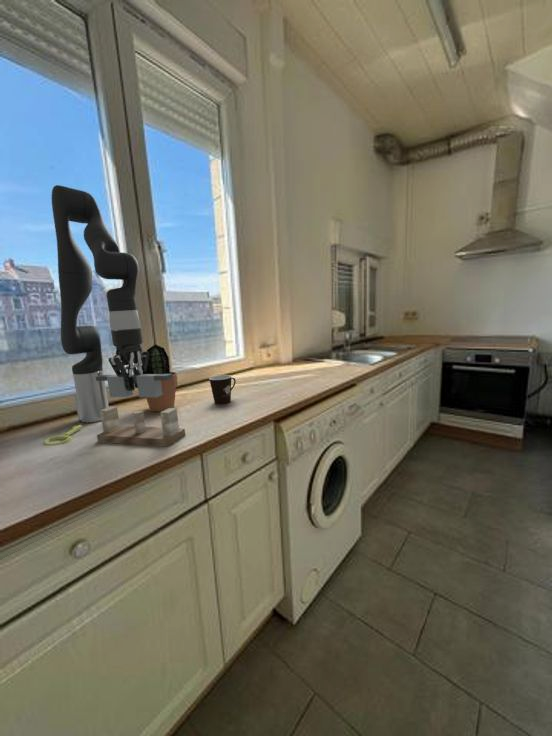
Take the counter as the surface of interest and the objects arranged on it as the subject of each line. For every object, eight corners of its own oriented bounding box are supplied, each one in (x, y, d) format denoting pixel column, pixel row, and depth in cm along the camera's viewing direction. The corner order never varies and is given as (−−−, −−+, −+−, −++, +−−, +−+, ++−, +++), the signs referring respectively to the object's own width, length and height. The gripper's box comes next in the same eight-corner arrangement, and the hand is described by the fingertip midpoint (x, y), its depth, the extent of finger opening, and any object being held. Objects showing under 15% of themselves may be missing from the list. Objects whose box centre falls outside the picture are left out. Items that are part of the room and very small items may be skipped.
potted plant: (180, 401, 130) (173, 341, 126) (181, 410, 118) (173, 343, 113) (144, 406, 126) (136, 344, 122) (141, 416, 113) (132, 347, 109)
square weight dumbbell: (99, 396, 92) (95, 376, 91) (106, 394, 94) (103, 374, 93) (168, 397, 85) (166, 375, 84) (174, 394, 88) (172, 373, 87)
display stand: (97, 441, 91) (92, 412, 90) (118, 431, 99) (114, 404, 97) (169, 446, 85) (165, 415, 83) (185, 435, 92) (181, 406, 91)
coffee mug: (215, 406, 120) (212, 381, 118) (209, 401, 127) (206, 377, 126) (243, 401, 125) (241, 376, 123) (236, 396, 133) (234, 373, 131)
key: (83, 429, 104) (82, 423, 103) (67, 444, 92) (66, 438, 91) (59, 433, 102) (58, 426, 102) (40, 448, 90) (38, 441, 90)
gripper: (132, 327, 94) (140, 383, 97) (94, 330, 81) (104, 395, 84) (153, 325, 92) (161, 383, 95) (118, 328, 79) (128, 395, 82)
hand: (134, 388), depth 89 cm, fingers closed on square weight dumbbell, 2 cm apart
